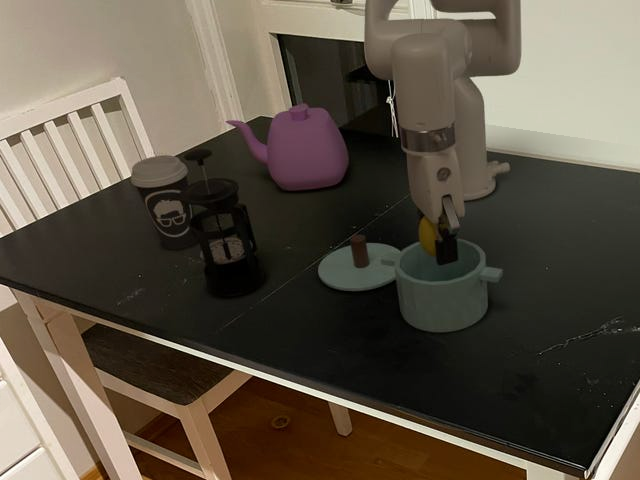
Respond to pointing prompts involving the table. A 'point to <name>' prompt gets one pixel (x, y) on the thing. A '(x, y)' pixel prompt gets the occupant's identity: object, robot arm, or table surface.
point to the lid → (357, 266)
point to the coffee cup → (165, 198)
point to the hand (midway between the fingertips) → (439, 251)
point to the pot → (442, 287)
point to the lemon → (429, 235)
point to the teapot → (300, 148)
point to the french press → (223, 233)
